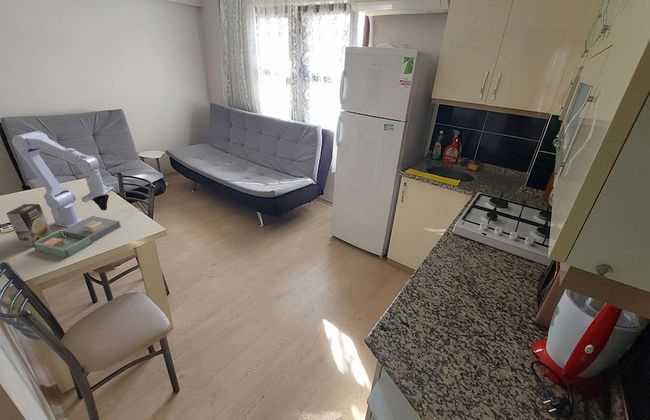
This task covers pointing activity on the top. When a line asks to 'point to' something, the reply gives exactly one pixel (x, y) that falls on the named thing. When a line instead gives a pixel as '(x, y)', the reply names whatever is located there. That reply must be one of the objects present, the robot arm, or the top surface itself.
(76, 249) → the tray
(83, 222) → the board
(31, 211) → the coffee box
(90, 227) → the tile
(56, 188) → the robot arm
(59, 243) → the tile
